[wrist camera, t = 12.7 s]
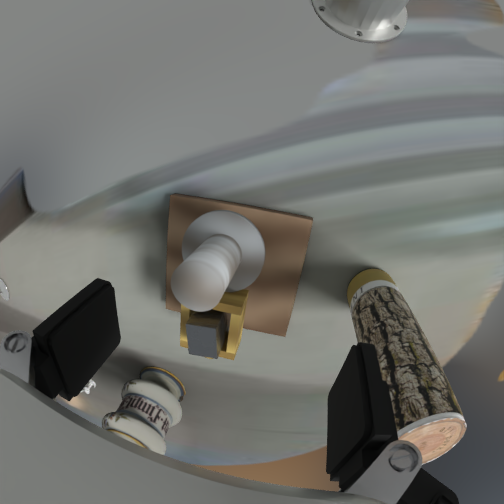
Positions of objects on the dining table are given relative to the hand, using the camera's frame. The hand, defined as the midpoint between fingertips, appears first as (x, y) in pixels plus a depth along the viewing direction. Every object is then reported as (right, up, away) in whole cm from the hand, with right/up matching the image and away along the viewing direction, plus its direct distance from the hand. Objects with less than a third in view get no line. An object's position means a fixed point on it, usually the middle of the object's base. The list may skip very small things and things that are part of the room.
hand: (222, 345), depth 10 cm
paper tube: (+17, -2, +27) cm, 32 cm away
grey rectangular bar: (-2, -2, +28) cm, 29 cm away
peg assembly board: (-2, +2, +29) cm, 29 cm away
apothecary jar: (-16, -23, +40) cm, 49 cm away
